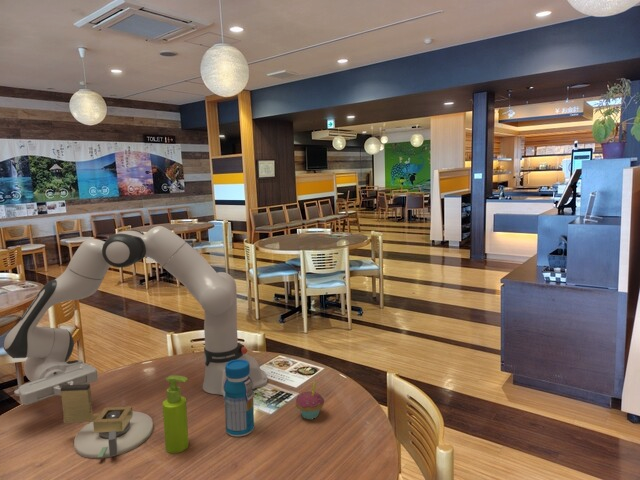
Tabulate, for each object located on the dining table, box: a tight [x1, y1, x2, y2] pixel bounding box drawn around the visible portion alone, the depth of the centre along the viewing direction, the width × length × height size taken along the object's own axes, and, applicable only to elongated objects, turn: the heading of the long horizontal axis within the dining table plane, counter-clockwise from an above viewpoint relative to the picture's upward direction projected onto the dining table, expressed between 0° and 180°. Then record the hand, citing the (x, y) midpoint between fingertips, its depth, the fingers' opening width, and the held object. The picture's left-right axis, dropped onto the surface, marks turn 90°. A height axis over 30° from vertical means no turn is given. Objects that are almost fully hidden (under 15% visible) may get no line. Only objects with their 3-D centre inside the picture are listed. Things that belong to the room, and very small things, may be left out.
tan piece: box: [60, 383, 133, 433], centre depth 119 cm, size 17×8×12 cm, turn 94°
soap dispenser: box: [162, 375, 189, 454], centre depth 114 cm, size 6×7×20 cm
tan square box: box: [99, 411, 130, 439], centre depth 120 cm, size 8×8×5 cm
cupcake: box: [295, 379, 325, 420], centre depth 129 cm, size 9×8×12 cm
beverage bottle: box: [223, 359, 255, 438], centre depth 122 cm, size 8×8×20 cm
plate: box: [73, 410, 154, 459], centre depth 119 cm, size 20×22×6 cm
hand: (68, 392), depth 123 cm, fingers closed
